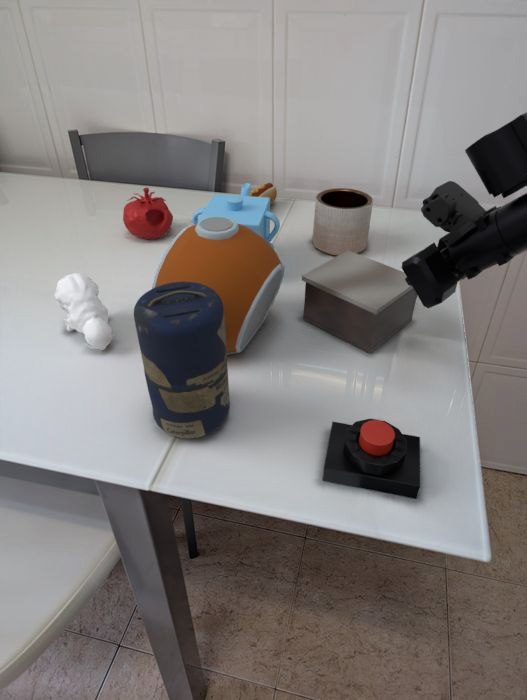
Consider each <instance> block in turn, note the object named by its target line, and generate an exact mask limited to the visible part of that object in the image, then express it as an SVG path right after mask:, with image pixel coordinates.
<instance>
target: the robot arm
mask: <svg viewBox="0 0 527 700" xmlns="http://www.w3.org/2000/svg"><path fill="white" fill-rule="evenodd" d="M464 151H465V154H466V156H467V157H468V159H469V161H470V163H471V164H472V166H473V168H474V169H475V172H476V173H477V175H478V177H479V178H480V181H481V183H482V184H483V186H484V187H485V189H486V191H487V193H488V195H489V196H490V195H492V197H493V198H494V199H495V198H496V197H498V196H500V195H501V197H502V199H505V198H508V197H510V196H511V195H513V194H515V193H516V192H519V191H520V190H522V189H524V188H525V187H527V111H526V112H524V113H522V114H519V115H518V116H517V117H515V118H514V119H513V120H511V121H509V122H508V123H506V124H504V125H503V126H501V127H498V129H496V130H494V131H492V132H489V133H487V134H484V135H483V136H482V137H480V138H478V139H477V140H476V141H475V142H473V143H472V144H470V145H469V146H468V147H466V148H465V150H464ZM420 211H421V213H422V217H424V219H426V220H427V221H428V222H429V223H431V224H432V225H433V226H434V227H435V228H441V229H442V231H444V232H446V234H445V235H443V236H441V237H440V238H439V239H438V243H437V244H436V243H435V242H432V243H431V244H429V245H427V246H426V247H424V248H423V249H421V250H419V251H418V252H416V253H415V254H413V255H411V256H410V257H408V258H407V259H405V260H403V261H402V262H401V269H402V272H404V273H405V275H406V276H407V277H406V278H405V280H406V282H407V284H408V285H409V286H412V287H413V288H414V290H415V292H416V294H417V298H418V299H419V300H420V303H421V304H422V306H423V307H425V308H427V309H431V308H433V307H435V306H438V305H440V304H442V303H444V302H445V301H446V300H447V299H449V297H451V296H452V295H453V294H455V293H456V291H457V286H458V283H459V282H460V281H463V280H464V279H467V280H472V279H473V278H476V277H477V276H478V275H479V274H481V273H482V272H483V271H485V270H487V269H490V268H491V267H494V266H497V265H498V267H501V266H503V265H505V264H508V263H509V262H510V261H512V260H513V258H515V257H516V256H519V255H521V254H523V253H526V252H527V192H525V193H523V194H521V195H520V196H518V197H516V198H514V199H512V200H511V201H509V202H507V203H505V204H503V205H501V206H497V205H495V206H493V207H491V208H489V209H487V210H486V209H485V208H484V207H483V206H482V205H481V204H480V203H479V201H478V200H477V199H476V198H475V197H474V196H472V195H471V193H469V192H468V191H467V190H465V189H464V188H463V187H462V186H461V185H460V184H458V183H456V181H453V180H452V181H451V180H448V181H446V182H443V183H442V184H441V185H438V186H436V188H434V190H433V191H432V192H431V194H430V195H429V196H428V197H426V198H424V199H423V200H422V207H421V208H420Z"/></svg>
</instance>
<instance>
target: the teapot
mask: <svg viewBox="0 0 527 700" xmlns="http://www.w3.org/2000/svg"><path fill="white" fill-rule="evenodd" d="M240 190H241V191H240V195H236V194H235V195H233V194H232V195H231V194H221V193H219V194H217V193H214V194H213V195H212V197H211V198H210V200H209V202H208V203H207V204H206V206H204V207H200V208H198V209H197V210H196V211H194V213H193V215H192V216H191V217H192V218H191V222H192V224H198V222H199V221H201V220H203V219H205V218H210V217H227V218H230V219H233V220H235V222H236V223H238V224H241V225H244V226H246V227H248V228H249V229H251V230H252V231H254V232H255V233H256V234H258V235H259V236H261V237H262V238H264V239H265V240H266V241H267V242H268V243H269V245H270V246H271V247H272V248H273V249H274V250H275V246H274V244H273V243H271V241H272V240H273V239H274V238H275V236H276V235H277V234H278V232H279V230H280V227H281V226H280V225H281V223H280V220H279V218H278V216H277V215H276V214H275V213H273V212H271V205H270V198H269V197H252V196H250V192H251V191H250V190H251V184H250V182H246V183H243V184H242V186H241V189H240ZM271 221H272V223H273V224H274V225H273V229H272V230H271Z"/></svg>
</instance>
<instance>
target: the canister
mask: <svg viewBox="0 0 527 700" xmlns="http://www.w3.org/2000/svg"><path fill="white" fill-rule="evenodd" d="M133 320H134V325H135V330H136V335H137V340H138V345H139V350H140V355H141V360H142V365H143V372H144V378H145V382H146V387H147V391H148V394H149V399H150V403H151V407H152V417H153V419H154V422H155V423H156V424H157V426H158V427H159V429H161V430H162V431H163V432H164V433H166V434H168V435H171V436H172V437H176V438H181V439H187V440H188V439H190V440H191V439H197V438H201V437H204V436H207V435H209V434H212V433H213V432H214V431H216V430H217V429H218V428H220V427H221V426H222V425H223V424H224V422H225V421H226V419H227V418H228V415H229V413H230V404H231V403H230V386H229V371H228V355H227V346H226V331H225V318H224V308H223V303H222V300H221V298H220V297H219V295H218V294H217V293H216V292H215V291H214V290H213V289H211V288H210V287H208V286H205V285H202V284H200V283H195V282H185V281H183V282H172V283H167V284H164V285H160V286H157V287H155V288H153V289H152V288H151V289H150V290H148V291H146V292H144V293H143V294H142V295H141V296H140V297H139V298H138V300H137V301H136V303H135V305H134V308H133Z"/></svg>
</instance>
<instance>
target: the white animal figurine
mask: <svg viewBox="0 0 527 700" xmlns="http://www.w3.org/2000/svg"><path fill="white" fill-rule="evenodd" d="M99 293H100V290H99V286H98V284H97V283H96V282H94V281H93V280H92V278H91V277H90V276H89V275H87V274H85V273H79V272H72V273H69V274H67V275H66V276H64V277H62V278H61V279H59V281H58V282H57V285H56V289H55V292H54V299H55V301H56V302H57V305H58V306H59V308H60V309H61V310H62V311H64V312H65V315H66V317H65V318H63V321H64V324H65V325H66V331H68V332H73V331H74V330H75V331H76V332H77V333H80V334H82V335H83V336H84V338H85V340H86V341H87V343H83V345H84V346H86V347H88V348H89V349H90V350H91V349H96V350H97V349H98V350H100V351H105V350H106V348H107V346H108V345H109V344H110V343H112V342H113V338H114V336H115V335H116V331H115V332H114V333H113V331H112V327H111V326H110V324H109V323H108V322H109V316H110V315H109V310H108V308H107V307H106V305H104V304H103V302H102V301H101V299H100V298H99Z"/></svg>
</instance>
